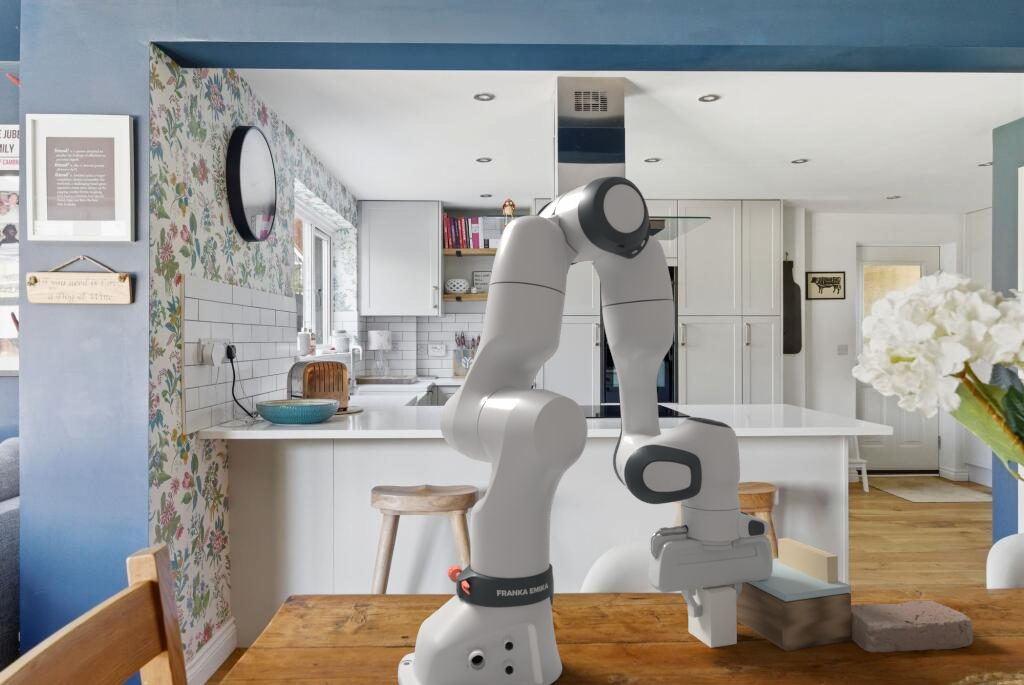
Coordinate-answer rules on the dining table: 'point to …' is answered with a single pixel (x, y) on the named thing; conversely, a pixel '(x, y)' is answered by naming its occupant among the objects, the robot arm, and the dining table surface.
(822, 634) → the dark wood box
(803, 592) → the lid
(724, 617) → the block
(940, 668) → the dining table surface
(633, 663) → the dining table surface
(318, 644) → the dining table surface
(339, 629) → the dining table surface
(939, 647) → the brick
